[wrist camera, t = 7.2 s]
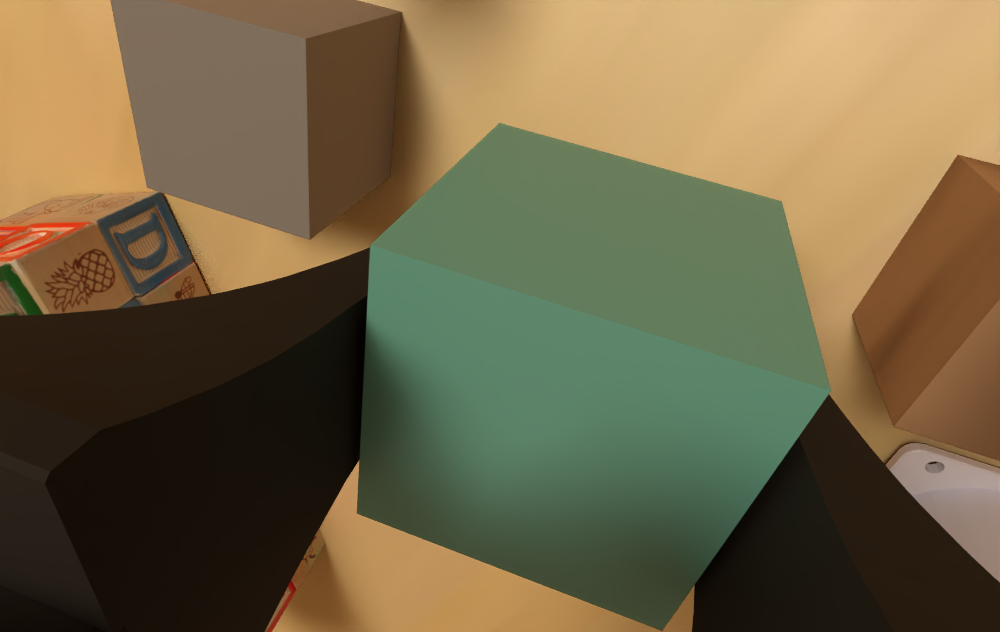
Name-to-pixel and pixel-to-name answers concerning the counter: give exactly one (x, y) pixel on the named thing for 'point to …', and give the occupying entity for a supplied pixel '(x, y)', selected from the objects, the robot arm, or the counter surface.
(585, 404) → the muted green block
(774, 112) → the counter surface
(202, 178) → the gray block
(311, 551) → the stack of blocks
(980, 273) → the walnut block
